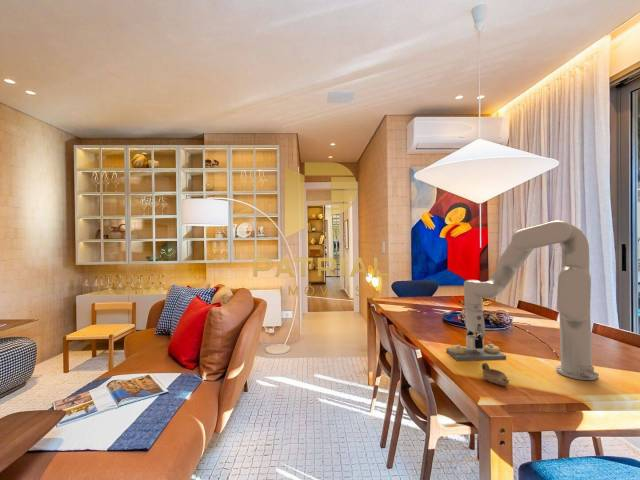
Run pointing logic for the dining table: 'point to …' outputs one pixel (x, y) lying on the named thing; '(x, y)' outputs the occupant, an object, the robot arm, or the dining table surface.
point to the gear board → (476, 353)
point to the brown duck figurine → (494, 375)
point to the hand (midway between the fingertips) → (474, 345)
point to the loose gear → (472, 342)
